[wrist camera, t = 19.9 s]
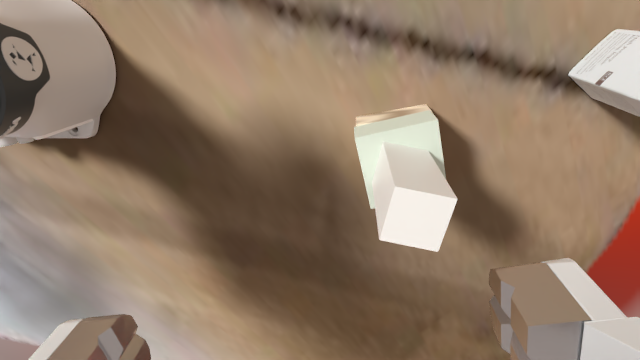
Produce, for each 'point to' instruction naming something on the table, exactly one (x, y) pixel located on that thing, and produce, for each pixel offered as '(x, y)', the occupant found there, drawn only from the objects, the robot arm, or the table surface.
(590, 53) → the skincare box
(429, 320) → the table surface
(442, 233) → the tall grey block
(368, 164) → the sage block
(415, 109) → the ash block
